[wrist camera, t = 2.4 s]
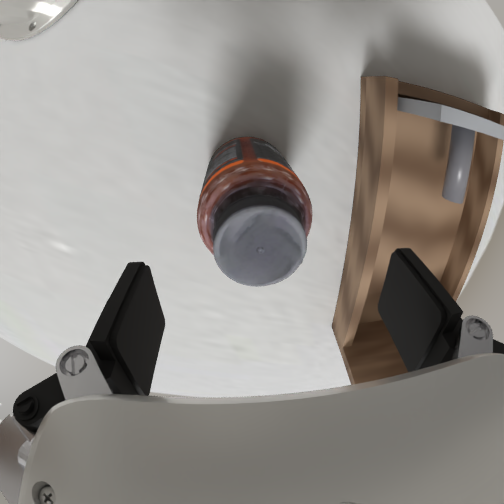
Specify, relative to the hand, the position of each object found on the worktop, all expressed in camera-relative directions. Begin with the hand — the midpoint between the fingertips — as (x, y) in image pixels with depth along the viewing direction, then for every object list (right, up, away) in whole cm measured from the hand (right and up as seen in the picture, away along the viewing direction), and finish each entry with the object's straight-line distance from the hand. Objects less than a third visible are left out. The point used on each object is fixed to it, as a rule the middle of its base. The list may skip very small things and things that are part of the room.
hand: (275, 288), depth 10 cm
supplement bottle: (-1, +8, +11) cm, 13 cm away
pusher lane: (+15, +4, +14) cm, 21 cm away
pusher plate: (+15, +10, +8) cm, 20 cm away
